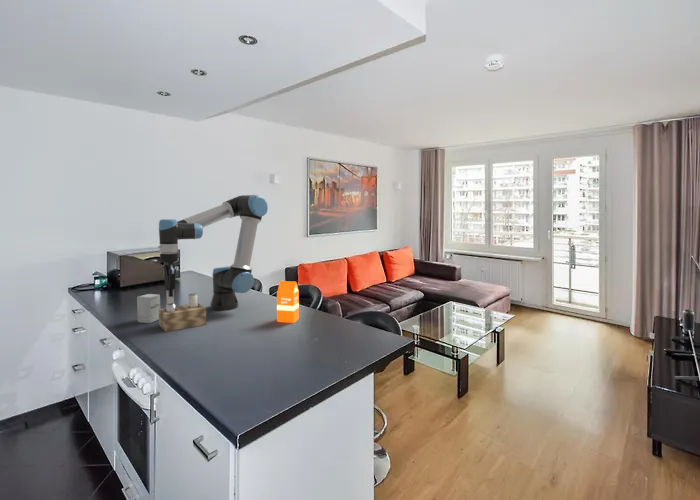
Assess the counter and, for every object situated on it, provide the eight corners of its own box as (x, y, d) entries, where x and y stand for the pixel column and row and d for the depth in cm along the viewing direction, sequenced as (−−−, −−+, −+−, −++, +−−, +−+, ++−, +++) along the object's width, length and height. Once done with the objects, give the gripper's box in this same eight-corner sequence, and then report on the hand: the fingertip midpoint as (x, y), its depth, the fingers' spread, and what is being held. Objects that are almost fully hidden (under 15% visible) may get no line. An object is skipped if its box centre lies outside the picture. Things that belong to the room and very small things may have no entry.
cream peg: (196, 309, 180) (195, 292, 179) (199, 311, 177) (198, 294, 176) (187, 310, 177) (187, 293, 176) (190, 312, 174) (189, 295, 173)
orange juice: (293, 323, 180) (293, 283, 178) (276, 321, 182) (276, 282, 180) (298, 318, 188) (298, 280, 186) (282, 317, 189) (282, 279, 187)
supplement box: (150, 323, 176) (149, 297, 175) (137, 322, 178) (136, 296, 176) (161, 319, 183) (160, 294, 182) (148, 318, 185) (147, 293, 184)
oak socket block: (198, 318, 185) (197, 303, 184) (206, 324, 176) (205, 308, 175) (159, 325, 173) (158, 308, 173) (165, 331, 164) (164, 314, 163)
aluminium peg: (174, 319, 174) (174, 302, 173) (177, 321, 171) (176, 303, 170) (165, 320, 171) (165, 303, 170) (167, 322, 168) (167, 305, 167)
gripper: (156, 252, 170) (158, 301, 173) (163, 254, 160) (165, 307, 163) (174, 251, 175) (175, 299, 177) (181, 253, 165) (183, 304, 167)
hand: (170, 303), depth 170 cm, fingers closed
